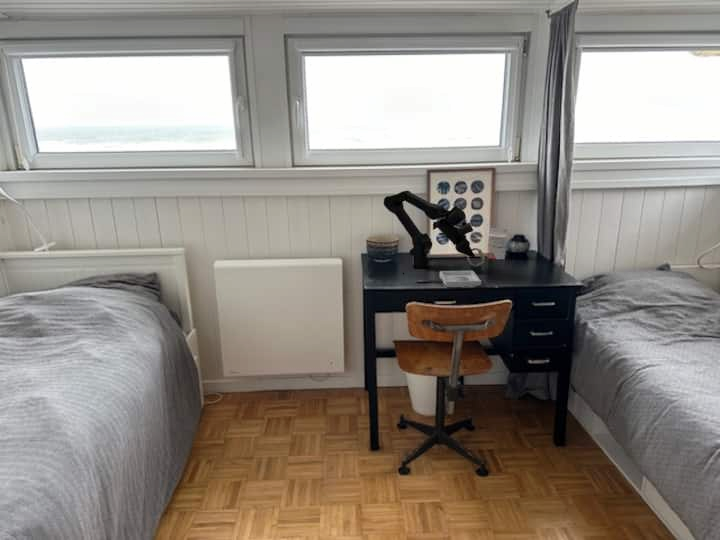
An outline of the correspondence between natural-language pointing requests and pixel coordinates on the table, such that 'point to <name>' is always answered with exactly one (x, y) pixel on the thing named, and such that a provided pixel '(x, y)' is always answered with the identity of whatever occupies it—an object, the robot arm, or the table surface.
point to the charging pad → (457, 278)
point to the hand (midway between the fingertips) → (473, 254)
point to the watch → (476, 267)
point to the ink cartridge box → (497, 243)
